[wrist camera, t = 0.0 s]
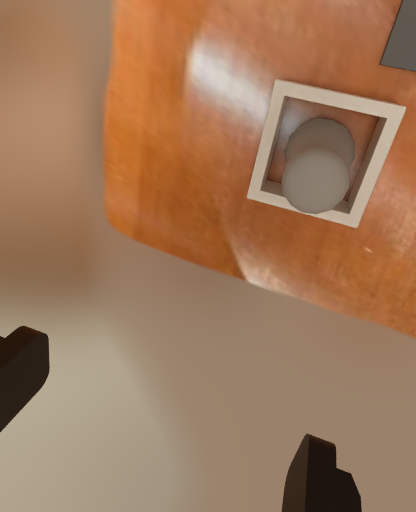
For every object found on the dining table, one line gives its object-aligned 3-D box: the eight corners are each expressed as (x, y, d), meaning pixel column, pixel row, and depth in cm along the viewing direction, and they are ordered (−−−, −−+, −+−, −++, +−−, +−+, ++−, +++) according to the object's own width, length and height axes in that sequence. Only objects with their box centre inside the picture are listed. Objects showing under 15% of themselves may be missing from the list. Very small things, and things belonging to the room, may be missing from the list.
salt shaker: (301, 107, 33) (286, 123, 22) (364, 126, 32) (382, 153, 21) (279, 169, 36) (256, 211, 25) (336, 188, 35) (339, 241, 24)
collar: (281, 78, 33) (275, 79, 29) (398, 103, 31) (406, 107, 27) (254, 186, 37) (246, 197, 34) (354, 213, 36) (356, 228, 32)
